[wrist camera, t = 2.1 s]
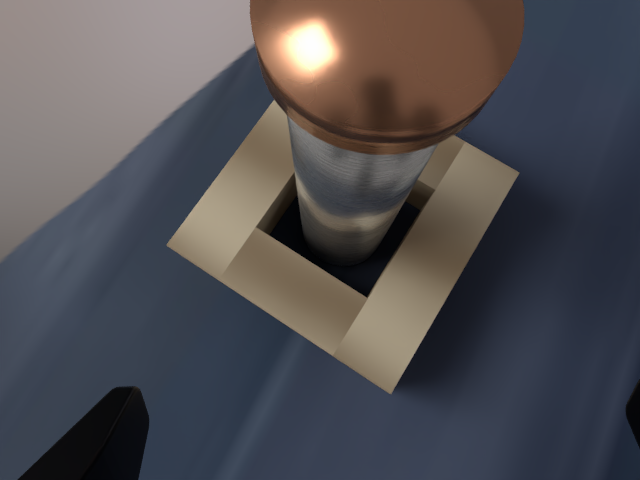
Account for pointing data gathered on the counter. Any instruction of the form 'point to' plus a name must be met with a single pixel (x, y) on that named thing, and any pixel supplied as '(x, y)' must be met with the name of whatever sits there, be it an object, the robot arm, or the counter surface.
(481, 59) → the metal pin
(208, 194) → the block
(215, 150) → the counter surface
